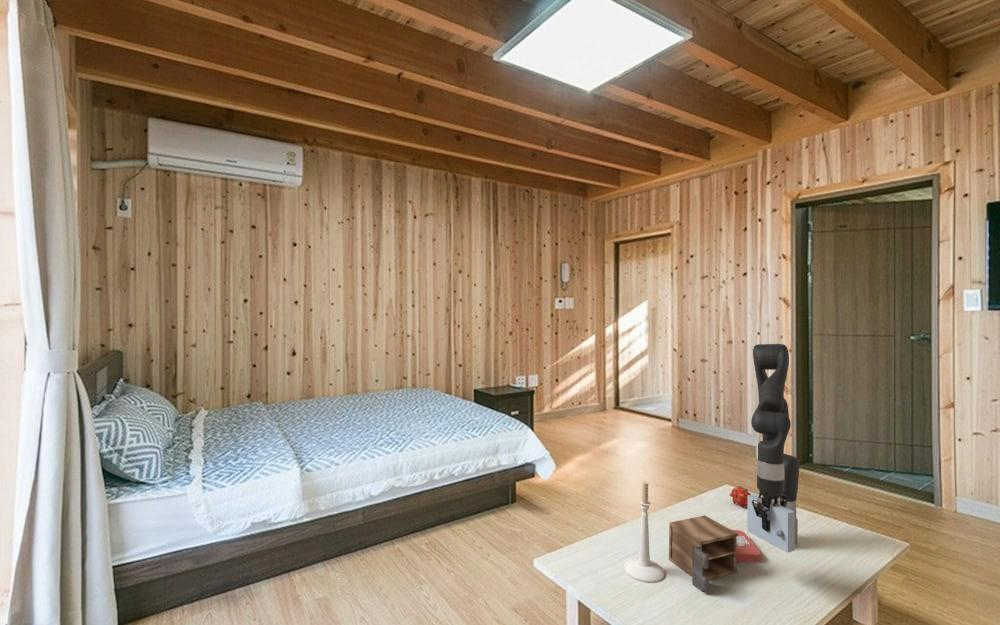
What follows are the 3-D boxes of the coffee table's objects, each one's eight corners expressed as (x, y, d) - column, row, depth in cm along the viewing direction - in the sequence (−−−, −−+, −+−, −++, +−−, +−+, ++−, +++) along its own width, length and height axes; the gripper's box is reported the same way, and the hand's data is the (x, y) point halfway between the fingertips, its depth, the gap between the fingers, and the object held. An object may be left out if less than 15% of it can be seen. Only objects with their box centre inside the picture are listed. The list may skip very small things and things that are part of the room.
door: (754, 529, 154) (754, 493, 154) (794, 550, 141) (794, 511, 141) (744, 532, 153) (744, 495, 152) (784, 553, 140) (785, 514, 139)
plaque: (701, 525, 179) (742, 528, 177) (701, 535, 179) (742, 538, 177) (717, 550, 162) (763, 553, 160) (717, 561, 162) (762, 564, 160)
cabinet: (704, 551, 167) (705, 515, 167) (752, 582, 149) (753, 541, 148) (660, 562, 160) (660, 524, 160) (704, 595, 141) (705, 553, 141)
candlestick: (672, 580, 149) (673, 487, 149) (634, 584, 147) (635, 490, 146) (652, 559, 162) (653, 473, 161) (617, 562, 160) (618, 475, 159)
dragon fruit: (733, 502, 212) (752, 518, 201) (721, 493, 210) (739, 508, 199) (744, 487, 212) (764, 502, 201) (732, 478, 210) (751, 492, 199)
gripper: (775, 467, 153) (774, 519, 153) (743, 474, 147) (743, 528, 148) (797, 475, 146) (796, 530, 146) (765, 482, 140) (764, 539, 141)
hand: (770, 528), depth 147 cm, fingers closed on door, 3 cm apart
